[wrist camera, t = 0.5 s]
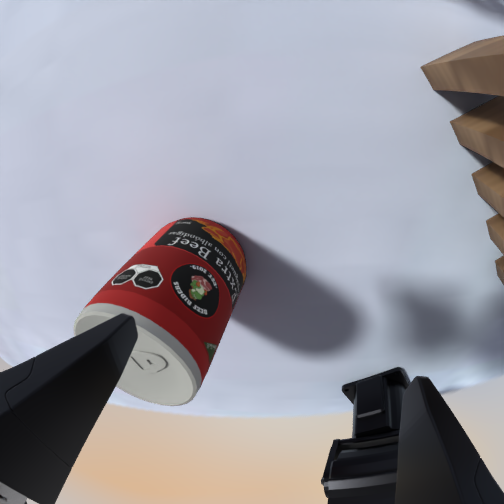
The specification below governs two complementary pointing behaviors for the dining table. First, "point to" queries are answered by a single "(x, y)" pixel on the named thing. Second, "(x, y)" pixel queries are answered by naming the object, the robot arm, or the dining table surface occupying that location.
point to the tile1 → (500, 268)
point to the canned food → (173, 307)
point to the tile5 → (470, 68)
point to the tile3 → (491, 185)
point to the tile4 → (483, 130)
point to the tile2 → (497, 230)
